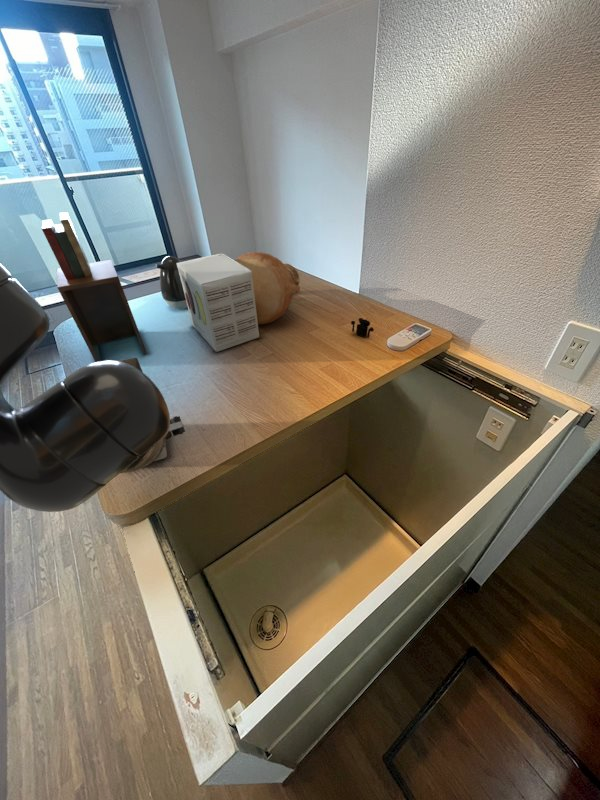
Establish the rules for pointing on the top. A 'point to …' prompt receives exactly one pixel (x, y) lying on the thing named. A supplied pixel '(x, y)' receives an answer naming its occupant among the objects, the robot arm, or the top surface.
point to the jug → (270, 284)
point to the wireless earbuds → (362, 327)
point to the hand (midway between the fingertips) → (145, 440)
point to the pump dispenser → (171, 283)
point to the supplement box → (220, 300)
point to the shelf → (89, 289)
